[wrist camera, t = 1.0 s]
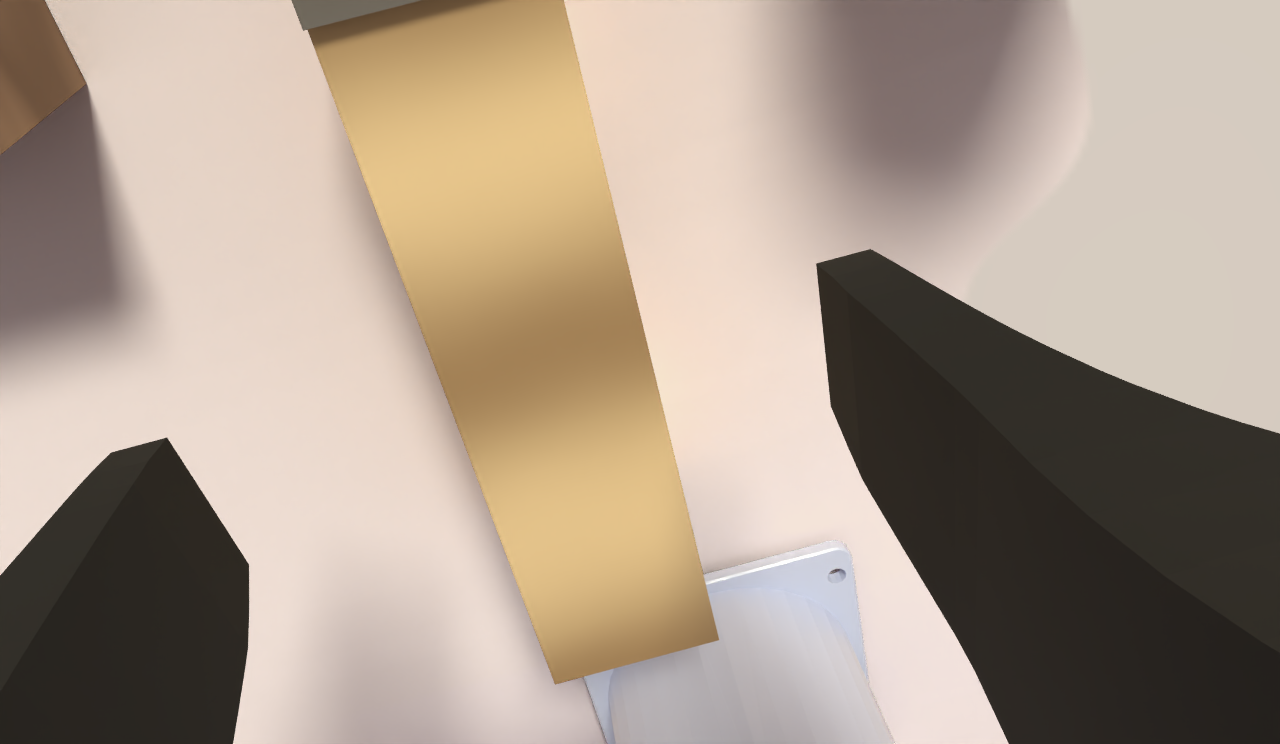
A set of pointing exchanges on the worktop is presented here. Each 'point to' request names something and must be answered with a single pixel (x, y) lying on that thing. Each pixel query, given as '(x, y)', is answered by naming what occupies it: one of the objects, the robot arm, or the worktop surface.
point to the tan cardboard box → (31, 68)
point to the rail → (524, 308)
